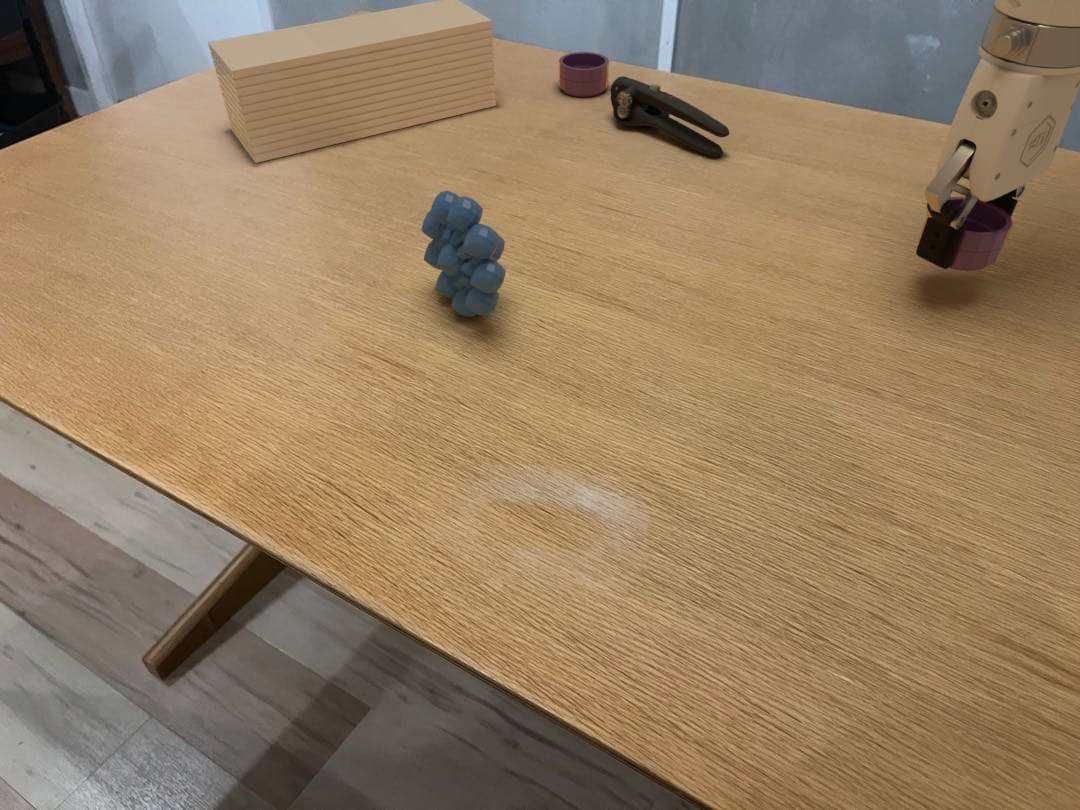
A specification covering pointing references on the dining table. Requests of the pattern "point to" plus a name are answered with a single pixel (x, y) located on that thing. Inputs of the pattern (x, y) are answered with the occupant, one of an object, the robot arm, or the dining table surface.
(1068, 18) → the robot arm
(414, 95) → the tan ribbed wooden block
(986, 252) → the plum dish
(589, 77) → the plum dish
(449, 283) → the grapes
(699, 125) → the can opener
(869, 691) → the dining table surface
